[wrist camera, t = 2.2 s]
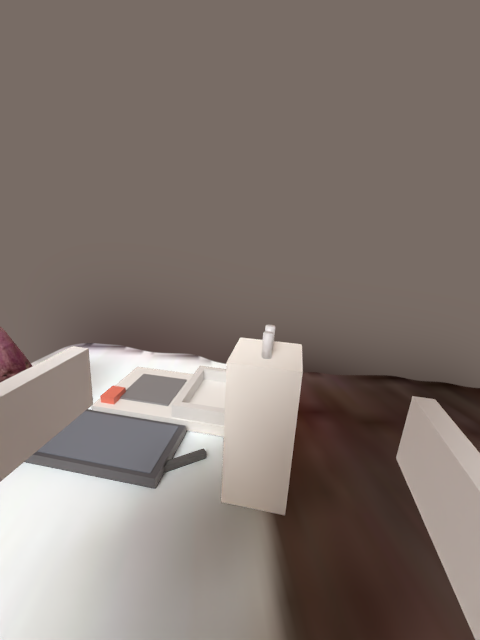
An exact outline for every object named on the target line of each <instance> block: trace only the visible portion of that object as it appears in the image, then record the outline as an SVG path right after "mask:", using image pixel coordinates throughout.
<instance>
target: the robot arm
mask: <svg viewBox="0 0 480 640" xmlns="http://www.w3.org/2000/svg"><path fill="white" fill-rule="evenodd" d="M91 405H93V398H92V386H91V373H90V361H89V349H88V348H81V347H74V346H72V347H70V348H68V349H66V350H64V351H62V352H60V353H58V354H56V355H54V356H52V357H50V358H48V359H46V360H44V361H42V362H40V363H38V364H36V365H34V366H32V367H30V368H28V369H26V370H24V371H22V372H20V373H18V374H16V375H14V376H12V377H10V378H8V379H6V380H4V381H2V382H0V481H2V480H3V479H4V478H5V477H6V476H8V475H9V474H10V473H11V472H12V471H14V470H15V469H16V468H17V467H18V466H20V465H21V464H22V463H23V462H24V461H26V460H27V459H28V458H29V457H30V456H32V455H33V454H34V453H35V452H36V451H38V450H39V449H40V448H41V447H42V446H44V445H45V444H46V443H47V442H48V441H50V440H51V439H52V438H53V437H54V436H56V435H57V434H58V433H59V432H60V431H62V430H63V429H64V428H65V427H66V426H68V425H69V424H70V423H71V422H72V421H73V420H75V419H76V418H77V417H78V416H79V415H81V414H82V413H83V412H84V411H85V410H87V409H88V408H89V407H90V406H91ZM396 459H397V461H398V464H399V466H400V468H401V471H402V473H403V475H404V478H405V480H406V482H407V484H408V487H409V489H410V491H411V494H412V496H413V498H414V500H415V503H416V505H417V507H418V510H419V512H420V514H421V516H422V519H423V521H424V523H425V526H426V528H427V530H428V533H429V535H430V537H431V539H432V542H433V544H434V546H435V549H436V551H437V553H438V555H439V558H440V560H441V562H442V565H443V567H444V569H445V571H446V574H447V576H448V578H449V581H450V583H451V585H452V587H453V590H454V592H455V594H456V597H457V599H458V601H459V604H460V606H461V608H462V610H463V613H464V615H465V617H466V620H467V622H468V624H469V626H470V629H471V631H472V633H473V636H474V638H475V640H480V453H479V452H478V451H477V449H476V448H475V447H474V446H473V445H472V443H471V442H470V441H469V440H468V439H467V437H466V436H465V435H464V434H463V432H462V431H461V430H460V429H459V428H458V426H457V425H456V424H455V423H454V422H453V420H452V419H451V418H450V417H449V416H448V414H447V413H446V412H445V411H444V409H443V408H442V407H441V406H440V405H439V403H438V402H437V401H436V400H435V399H429V398H422V397H415V396H412V400H411V404H410V407H409V411H408V415H407V419H406V422H405V426H404V430H403V434H402V438H401V441H400V445H399V449H398V453H397V456H396Z"/></svg>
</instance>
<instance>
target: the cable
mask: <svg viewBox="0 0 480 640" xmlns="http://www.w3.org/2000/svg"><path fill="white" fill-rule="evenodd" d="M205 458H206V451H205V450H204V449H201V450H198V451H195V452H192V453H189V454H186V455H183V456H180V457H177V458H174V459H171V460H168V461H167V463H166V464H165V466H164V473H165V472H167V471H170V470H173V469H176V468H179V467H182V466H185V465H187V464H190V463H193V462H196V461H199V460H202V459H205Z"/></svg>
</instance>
